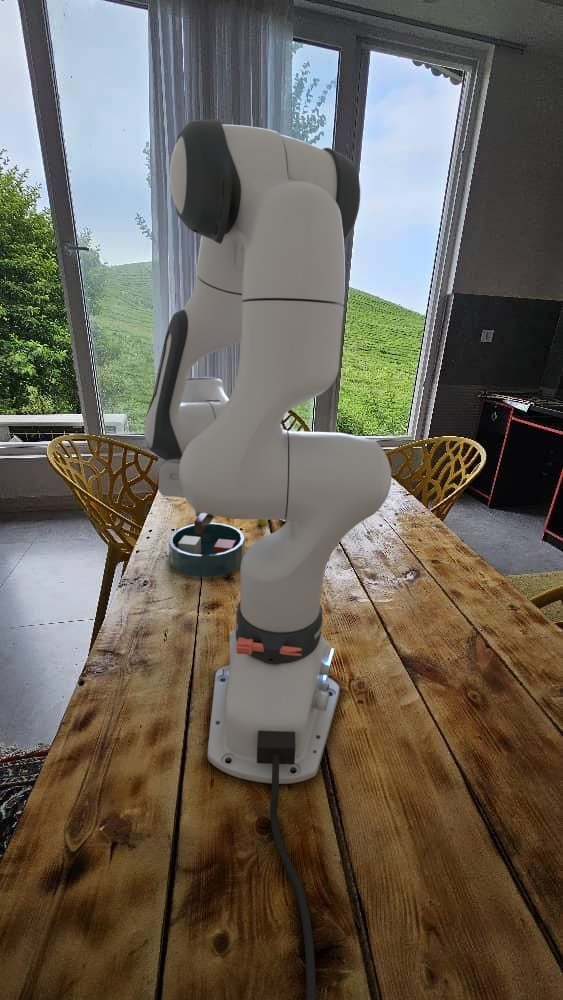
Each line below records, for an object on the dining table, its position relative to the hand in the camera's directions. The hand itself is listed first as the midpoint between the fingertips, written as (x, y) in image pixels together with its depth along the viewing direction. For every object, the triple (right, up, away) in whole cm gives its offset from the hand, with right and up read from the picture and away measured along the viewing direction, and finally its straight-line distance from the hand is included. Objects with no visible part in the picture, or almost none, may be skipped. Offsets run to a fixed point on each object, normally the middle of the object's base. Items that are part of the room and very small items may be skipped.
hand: (206, 516), depth 98 cm
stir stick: (0, -1, +1) cm, 2 cm away
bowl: (0, -10, +4) cm, 11 cm away
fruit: (+11, -3, +23) cm, 26 cm away
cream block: (-4, -9, +4) cm, 11 cm away
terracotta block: (+4, -10, +3) cm, 11 cm away
